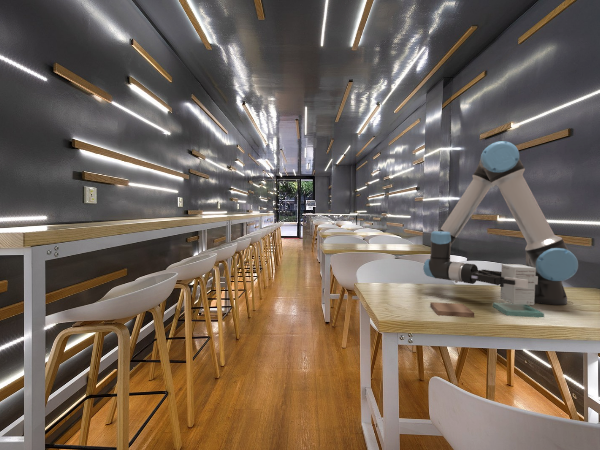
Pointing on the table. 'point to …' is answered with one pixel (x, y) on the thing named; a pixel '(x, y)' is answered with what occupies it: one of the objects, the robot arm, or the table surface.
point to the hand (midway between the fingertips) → (532, 282)
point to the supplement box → (517, 293)
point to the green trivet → (517, 310)
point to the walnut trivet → (451, 309)
